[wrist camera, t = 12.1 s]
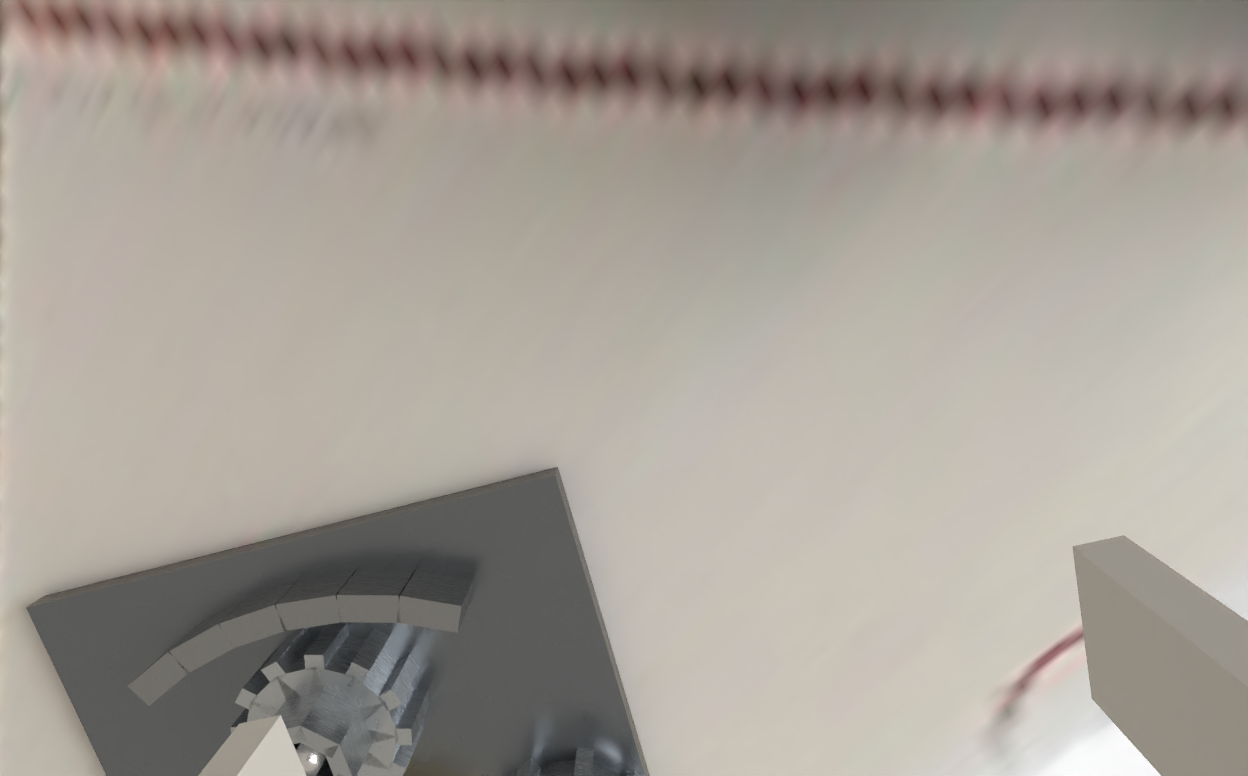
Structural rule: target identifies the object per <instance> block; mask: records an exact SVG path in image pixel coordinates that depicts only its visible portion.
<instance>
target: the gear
mask: <svg viewBox="0 0 1248 776" xmlns="http://www.w3.org/2000/svg"><path fill="white" fill-rule="evenodd" d="M389 637H390V636H389V635H387V634H385V633H383V632H381V631H379V630H377V629H375V628H374V629H373V630H372V632H371V633H370V635H369V637H368V638H367V639H364V638H360V637H356V636H352V635H348V624H347V622H340V623H334V624H327V625H326V627H325V628H324V629H323V631H322V632H321V633H320V635H319V636H318V637H317V638H314V639H312V638H311V636H310V635H309V633H308V632H307V631H306V629H305V628H302V629H300V630H299V631H297V632H295V633H293V634H291V635H290V636H289V637H288V638H287V639H286V640H285V642H284V643H283V644H282V645H281V646H280V648H279V649H278V650H277V651H276V652H275V653H272V654H271V655H270V656H269V657H268V658H267V660H266V661H265V662H264V663H263V664H262V666H261V667H260V668H259V669H258V670H257V672H256V673H255V674H254V675H253V676H252V677H251V679H250V680H249V681H248V682H247V683H246V685H245V686H244V687H243V688H242V690H241V692H240V694H239V696H238V698H237V699H236V701H235V703H236V704H239V705H241V706H243V707H245V710H244V711H243V712H242V713H241V715H240V716H239V717H238V718H237V720H236V721H235V722H234V723H233V725H232V726H231V733H232V732H233V731H234V730H235V728H236V727H237V726H238V725H239V724H240V723H245V722H250V721H254V720H259V719H264V718H269V717H273V716H278V715H281V717H282V719H283V721H284V724H285V726H286V728H287V731H288V733H289V736H290V738H291V740H292V743H293V745H294V747H295V750H296V749H297V748H298V746H299V745H300V743H301V744H304V745H306V746H308V747H310V748H312V749H314V750H316V751H318V752H320V753H322V754H324V755H325V756H326V760H325V761H324V763H323V765H322V767H321V768H320V770H319V772H318V773H317V775H316V776H403V774H404V772H405V771H406V769H407V767H408V764H409V762H410V759H411V757H412V755H413V752H414V750H415V747H416V745H417V742H418V740H419V738H420V735H421V733H422V730H423V727H421V726H420V725H421V723H422V721H423V718H424V716H425V714H426V711H427V709H428V707H429V698H428V690H414V689H413V687H412V682H413V680H414V678H415V676H416V674H417V672H418V670H419V668H420V667H419V665H418V664H417V663H416V661H415V660H414V658H413V657H412V656H411V654H408V655H406V656H404V657H403V658H401V659H399V660H398V659H396V658H395V657H394V656H393V655H392V654H391V653H389V652H388V651H387V650H386V649H385V648H383V647H384V646H385V644H386V642H387V640H388V638H389Z"/></svg>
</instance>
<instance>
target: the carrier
mask: <svg viewBox="0 0 1248 776" xmlns="http://www.w3.org/2000/svg"><path fill="white" fill-rule="evenodd" d="M27 610H28V612H29V614H30V616H31V618H32V620H33V623H34V625H35V627H36V629H37V631H38V633H39V635H40V637H41V639H42V641H43V643H44V646H45V648H46V650H47V652H48V654H49V656H50V658H51V660H52V662H53V664H54V666H55V668H56V671H57V673H58V675H59V677H60V679H61V681H62V683H63V685H64V687H65V689H66V691H67V694H68V696H69V698H70V700H71V702H72V704H73V706H74V708H75V710H76V712H77V714H78V717H79V719H80V721H81V723H82V725H83V727H84V729H85V731H86V733H87V735H88V737H89V740H90V742H91V744H92V746H93V748H94V750H95V752H96V754H97V756H98V758H99V760H100V763H101V765H102V767H103V769H104V771H105V773H106V775H107V776H198V775H199V774H200V773H201V772H202V770H203V769H204V768H205V766H206V765H207V764H208V763H209V761H210V760H211V759H212V758H213V756H214V755H215V754H216V752H217V751H218V750H219V749H220V747H221V746H222V745H223V744H224V742H225V741H226V740H227V739H228V737H229V736H230V735H231V726H232V725H233V723H234V722H235V721H236V720H237V718H238V717H239V716H240V715H241V713H242V712H243V711H244V710H245V707H243V706H241V705H239V704H236V703H235V701H236V699H237V698H238V696H239V694H240V692H241V690H242V688H243V687H244V686H245V685H246V683H247V682H248V681H249V680H250V679H251V677H252V676H253V675H254V674H255V673H256V672H257V670H258V669H259V668H260V667H261V666H262V664H263V663H264V662H265V661H266V660H267V658H268V657H269V656H270V655H271V654H272V653H275V652H276V651H277V650H278V649H279V648H280V646H281V645H282V644H283V643H284V642H285V640H286V639H287V638H288V637H289V636H290V635H291V634H293V633H295V632H297V631H299V630H300V629H302V628H305V629H306V631H307V632H308V633H309V635H310V636H311V638H312V639H314V638H317V637H318V636H319V635H320V633H321V632H322V631H323V629H324V628H325V627H326V625H327V624H334V623H340V622H347V624H348V635H352V636H356V637H360V638H364V639H367V638H368V637H369V635H370V633H371V632H372V630H373V629H374V628H375V629H377V630H379V631H381V632H383V633H385V634H387V635H389V636H390V637H389V638H388V640H387V642H386V644H385V646H384V647H383V648H385V649H386V650H387V651H388V652H389V653H391V654H392V655H393V656H394V657H395V658H396V659H398V660H399V659H401V658H403V657H404V656H406V655H408V654H411V656H412V657H413V658H414V660H415V661H416V663H417V664H418V665H419V667H420V668H419V670H418V672H417V674H416V676H415V678H414V680H413V682H412V687H413V689H414V690H428V698H429V707H428V709H427V711H426V714H425V716H424V718H423V721H422V723H421V725H420V726H421V727H423V730H422V733H421V735H420V738H419V740H418V742H417V745H416V747H415V750H414V752H413V755H412V757H411V759H410V762H409V764H408V767H407V769H406V771H405V772H404V774H403V776H649V772H648V769H647V766H646V762H645V759H644V756H643V752H642V749H641V745H640V742H639V739H638V735H637V732H636V729H635V725H634V722H633V719H632V715H631V712H630V709H629V705H628V702H627V698H626V695H625V692H624V688H623V685H622V682H621V678H620V675H619V672H618V668H617V665H616V661H615V658H614V655H613V651H612V648H611V645H610V641H609V638H608V635H607V631H606V628H605V624H604V621H603V618H602V614H601V611H600V608H599V604H598V601H597V598H596V594H595V591H594V588H593V584H592V581H591V577H590V574H589V571H588V567H587V564H586V561H585V557H584V554H583V551H582V547H581V544H580V540H579V537H578V534H577V530H576V527H575V524H574V520H573V517H572V514H571V510H570V507H569V503H568V500H567V497H566V493H565V490H564V487H563V483H562V480H561V477H560V473H559V470H558V467H557V468H553V469H549V470H545V471H541V472H537V473H533V474H529V475H525V476H521V477H517V478H513V479H509V480H505V481H501V482H497V483H493V484H489V485H485V486H481V487H477V488H473V489H469V490H465V491H462V492H458V493H454V494H450V495H446V496H442V497H438V498H434V499H430V500H426V501H422V502H418V503H414V504H410V505H406V506H402V507H398V508H394V509H390V510H386V511H382V512H378V513H374V514H370V515H366V516H362V517H358V518H354V519H350V520H346V521H342V522H338V523H334V524H330V525H326V526H322V527H318V528H314V529H310V530H306V531H302V532H298V533H294V534H290V535H286V536H282V537H278V538H274V539H270V540H266V541H262V542H258V543H254V544H250V545H246V546H242V547H238V548H234V549H230V550H226V551H222V552H218V553H214V554H210V555H207V556H203V557H199V558H195V559H191V560H187V561H183V562H179V563H175V564H171V565H167V566H163V567H159V568H155V569H151V570H147V571H143V572H139V573H135V574H131V575H127V576H123V577H119V578H115V579H111V580H107V581H103V582H99V583H95V584H91V585H87V586H83V587H79V588H75V589H71V590H67V591H63V592H59V593H55V594H51V595H47V596H44V597H43V598H41V599H39V600H38V601H36V602H35V603H33V604H31V605H30V606H28V607H27ZM296 752H297V754H298V757H299V759H300V761H301V764H302V766H303V769H304V771H305V773H306V776H316V775H317V773H318V772H319V770H320V768H321V767H322V765H323V763H324V761H325V760H326V756H325V755H324V754H322V753H320V752H318V751H316V750H314V749H312V748H310V747H308V746H306V745H304V744H301V743H300V745H299V746H298V748H297V749H296Z"/></svg>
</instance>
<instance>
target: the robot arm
mask: <svg viewBox="0 0 1248 776" xmlns="http://www.w3.org/2000/svg"><path fill="white" fill-rule="evenodd" d="M1073 554H1074V562H1075V569H1076V577H1077V585H1078V593H1079V601H1080V609H1081V617H1082V624H1083V632H1084V640H1085V648H1086V656H1087V664H1088V672H1089V680H1090V687H1091V695H1092V699H1093V700H1094V701H1095V702H1096V704H1097V705H1098V706H1099V707H1100V708H1101V709H1102V710H1103V711H1104V712H1105V714H1106V715H1107V716H1108V717H1109V718H1110V719H1111V720H1112V721H1113V722H1114V724H1115V725H1116V726H1117V727H1118V728H1119V729H1120V730H1121V731H1122V732H1123V734H1124V735H1125V736H1126V737H1127V738H1128V739H1129V740H1130V741H1131V742H1132V743H1133V745H1134V746H1135V747H1136V748H1137V749H1138V750H1139V751H1140V752H1141V753H1142V755H1143V756H1144V757H1145V758H1146V759H1147V760H1148V761H1149V762H1150V763H1151V765H1152V766H1153V767H1154V768H1155V769H1156V770H1157V771H1158V772H1159V773H1160V775H1161V776H1248V621H1247V620H1245V619H1244V618H1242V617H1241V616H1239V615H1238V614H1237V613H1235V612H1234V611H1232V610H1231V609H1229V608H1228V607H1226V606H1225V605H1224V604H1222V603H1221V602H1219V601H1218V600H1216V599H1215V598H1213V597H1212V596H1211V595H1209V594H1208V593H1206V592H1205V591H1203V590H1202V589H1200V588H1199V587H1198V586H1196V585H1195V584H1193V583H1192V582H1190V581H1189V580H1187V579H1186V578H1185V577H1183V576H1182V575H1180V574H1179V573H1177V572H1176V571H1174V570H1173V569H1172V568H1170V567H1169V566H1167V565H1166V564H1164V563H1163V562H1161V561H1160V560H1159V559H1157V558H1156V557H1154V556H1153V555H1151V554H1150V553H1148V552H1147V551H1146V550H1144V549H1143V548H1141V547H1140V546H1138V545H1137V544H1135V543H1134V542H1133V541H1131V540H1130V539H1128V538H1127V537H1125V536H1120V537H1115V538H1110V539H1105V540H1101V541H1096V542H1091V543H1087V544H1082V545H1077V546H1073ZM198 776H306V773H305V771H304V769H303V766H302V764H301V761H300V759H299V757H298V754H297V752H296V750H295V747H294V745H293V743H292V740H291V738H290V736H289V733H288V731H287V728H286V726H285V724H284V721H283V719H282V717H281V715H278V716H273V717H269V718H264V719H259V720H254V721H250V722H245V723H240V724H239V725H238V726H237V727H236V728H235V730H234V731H233V732H232V733H231V735H230V736H229V737H228V739H227V740H226V741H225V742H224V744H223V745H222V746H221V747H220V749H219V750H218V751H217V752H216V754H215V755H214V756H213V758H212V759H211V760H210V761H209V763H208V764H207V765H206V766H205V768H204V769H203V770H202V772H201V773H200V774H199V775H198Z"/></svg>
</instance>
